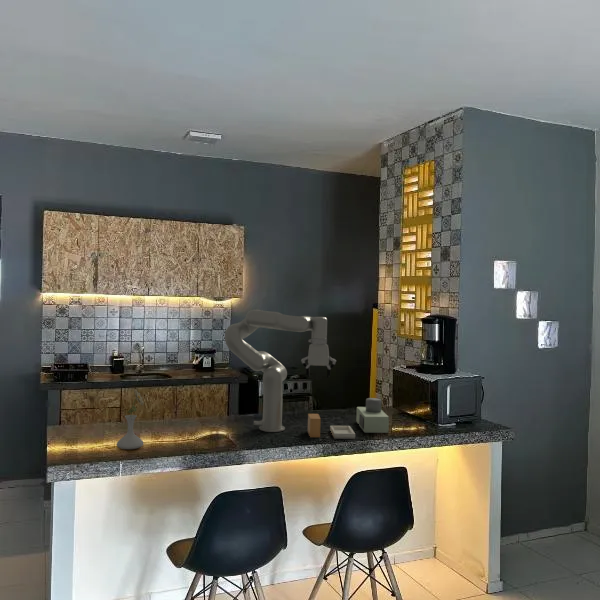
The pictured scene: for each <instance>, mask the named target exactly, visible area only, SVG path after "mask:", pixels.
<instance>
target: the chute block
mask: <svg viewBox="0 0 600 600" xmlns="http://www.w3.org/2000/svg"><path fill="white" fill-rule="evenodd" d="M321 421H322V419H321V417H320V414H319V413H307V433H308V436H310V437H309V438H321Z"/></svg>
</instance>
